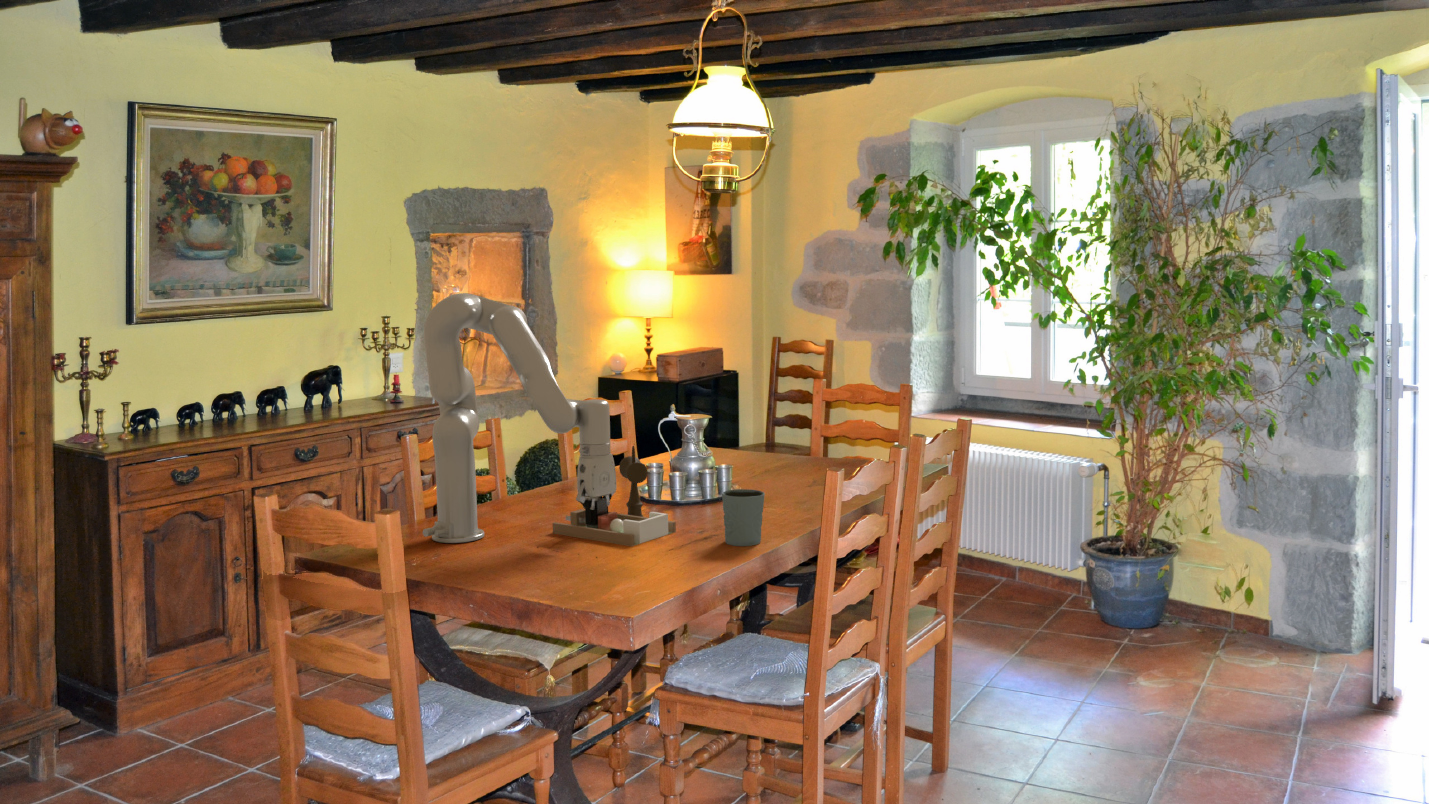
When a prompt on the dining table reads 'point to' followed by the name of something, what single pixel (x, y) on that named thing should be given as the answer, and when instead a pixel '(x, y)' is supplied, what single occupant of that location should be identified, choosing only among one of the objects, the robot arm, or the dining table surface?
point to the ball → (617, 525)
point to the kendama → (633, 481)
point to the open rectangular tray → (633, 528)
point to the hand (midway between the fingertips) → (597, 522)
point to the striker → (600, 515)
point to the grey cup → (743, 516)
